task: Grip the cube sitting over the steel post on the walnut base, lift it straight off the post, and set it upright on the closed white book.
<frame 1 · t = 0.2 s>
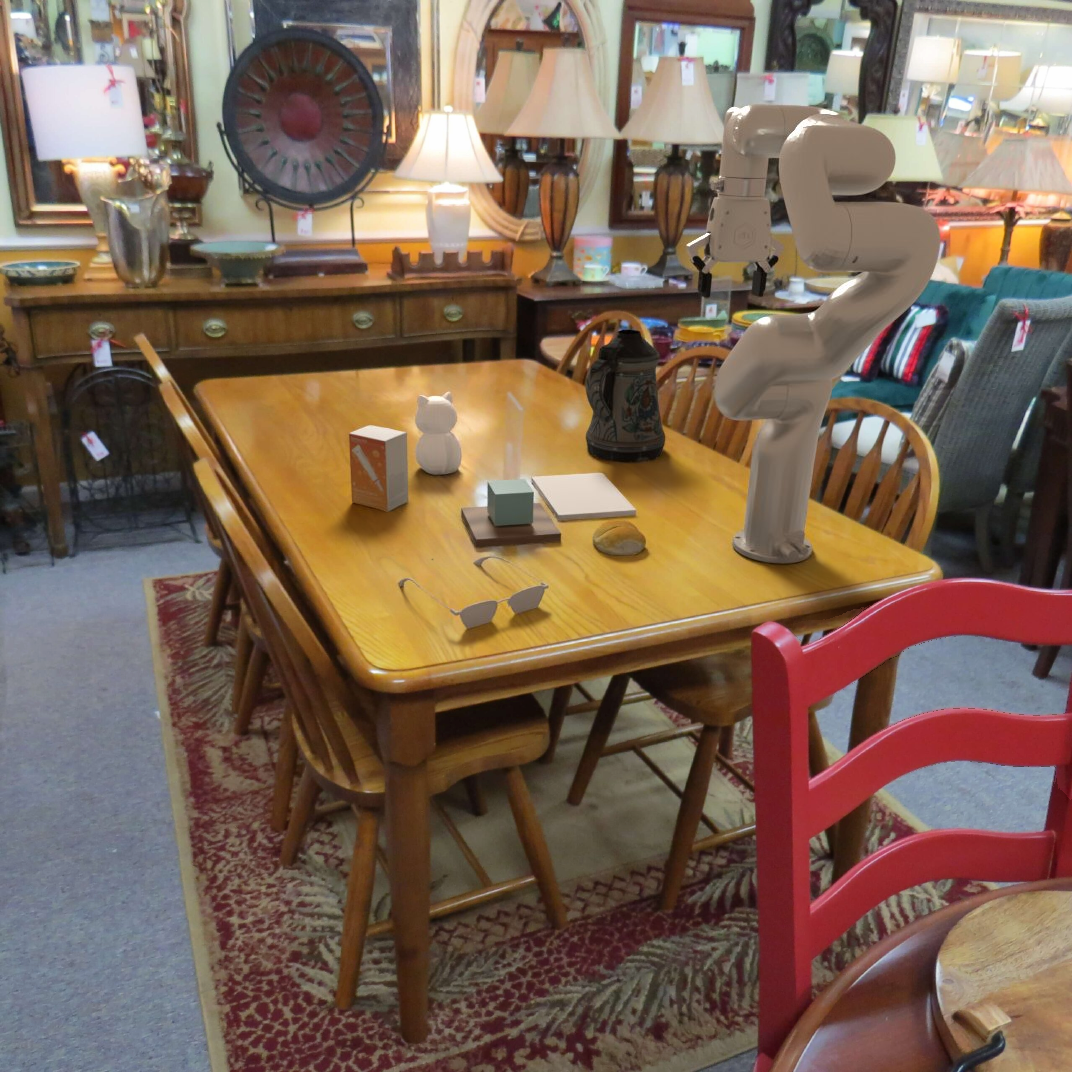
hand: (730, 296, 166), 37 cm above the table, tool pointing down, fingers open, 9 cm apart
small box: (380, 503, 174), on the table
cube: (509, 517, 164), point 2 cm above the table, touching post stand
beer stein: (623, 454, 204), on the table
post stand: (509, 528, 164), on the table
cat figurine: (440, 472, 191), on the table
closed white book: (581, 497, 179), on the table
eyeglasses: (469, 598, 142), on the table
bread roll: (619, 547, 159), on the table
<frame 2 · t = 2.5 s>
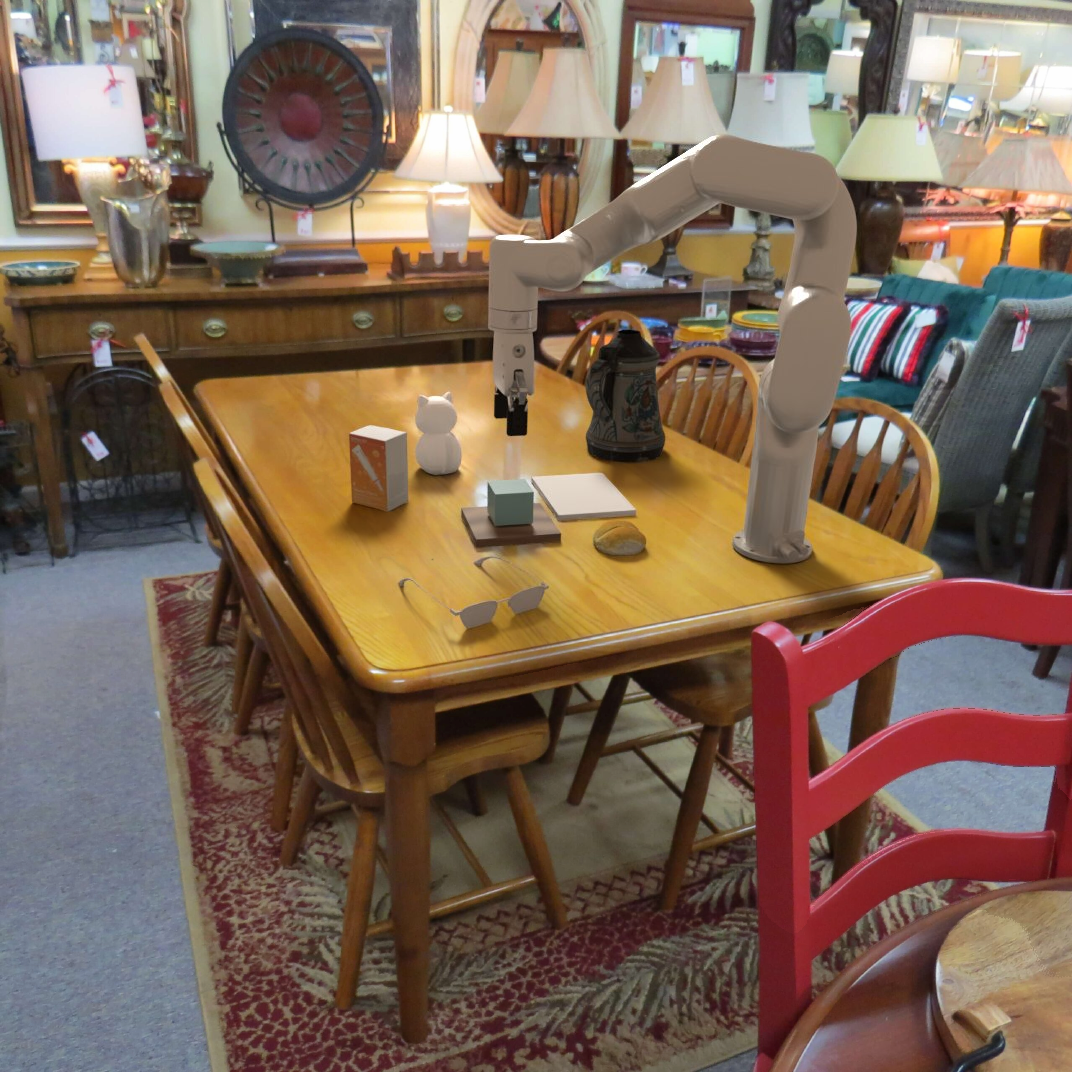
hand: (510, 426, 158), 18 cm above the table, tool pointing down, fingers open, 9 cm apart
nothing on the table moved.
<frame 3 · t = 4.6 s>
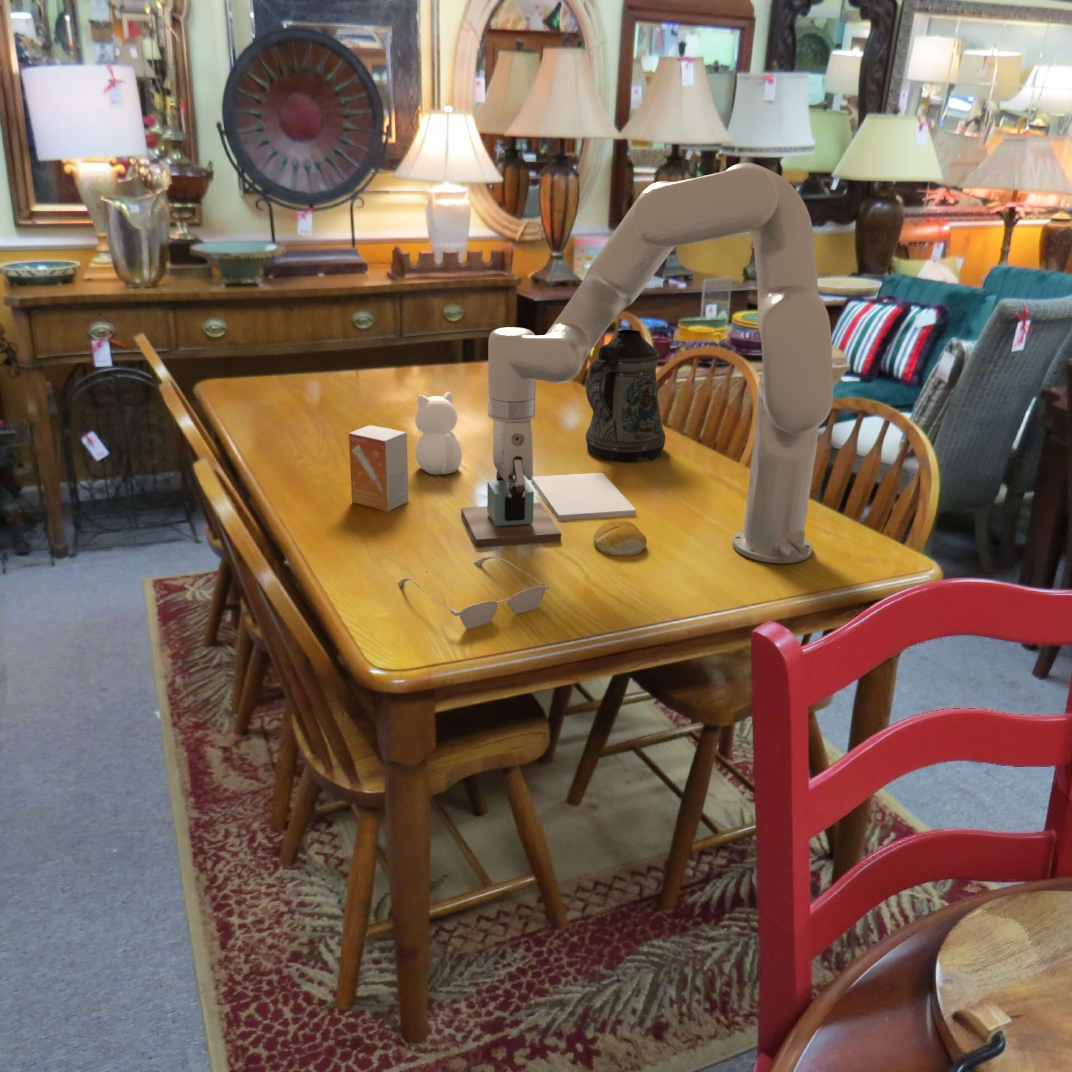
hand: (509, 511, 163), 3 cm above the table, tool pointing down, fingers closed on cube, 6 cm apart
cube: (509, 517, 164), point 2 cm above the table, touching gripper, post stand
everything else where it was.
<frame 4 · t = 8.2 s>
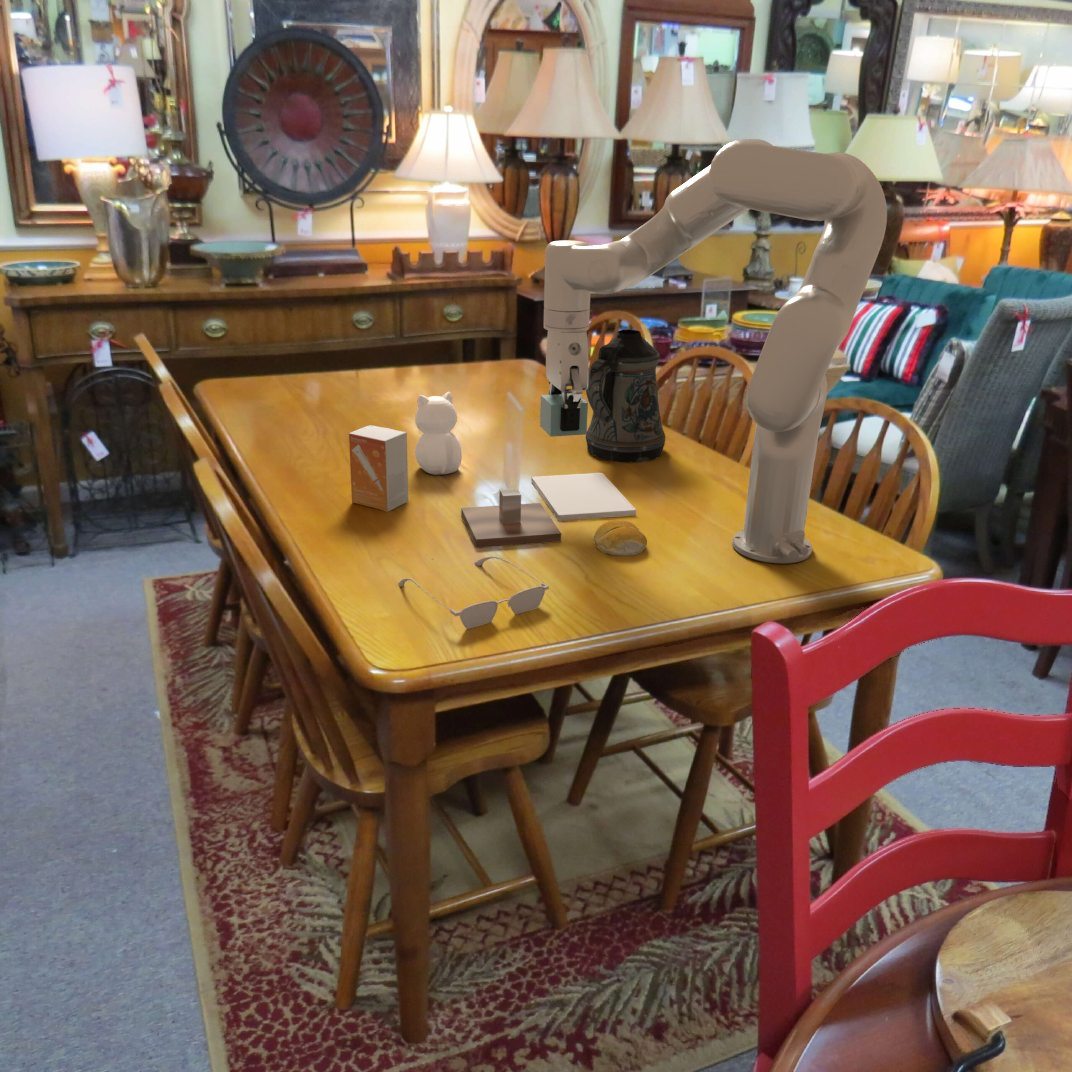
hand: (563, 423, 168), 15 cm above the table, tool pointing down, fingers closed on cube, 6 cm apart
cube: (563, 430, 169), point 14 cm above the table, touching gripper
everything else where it was.
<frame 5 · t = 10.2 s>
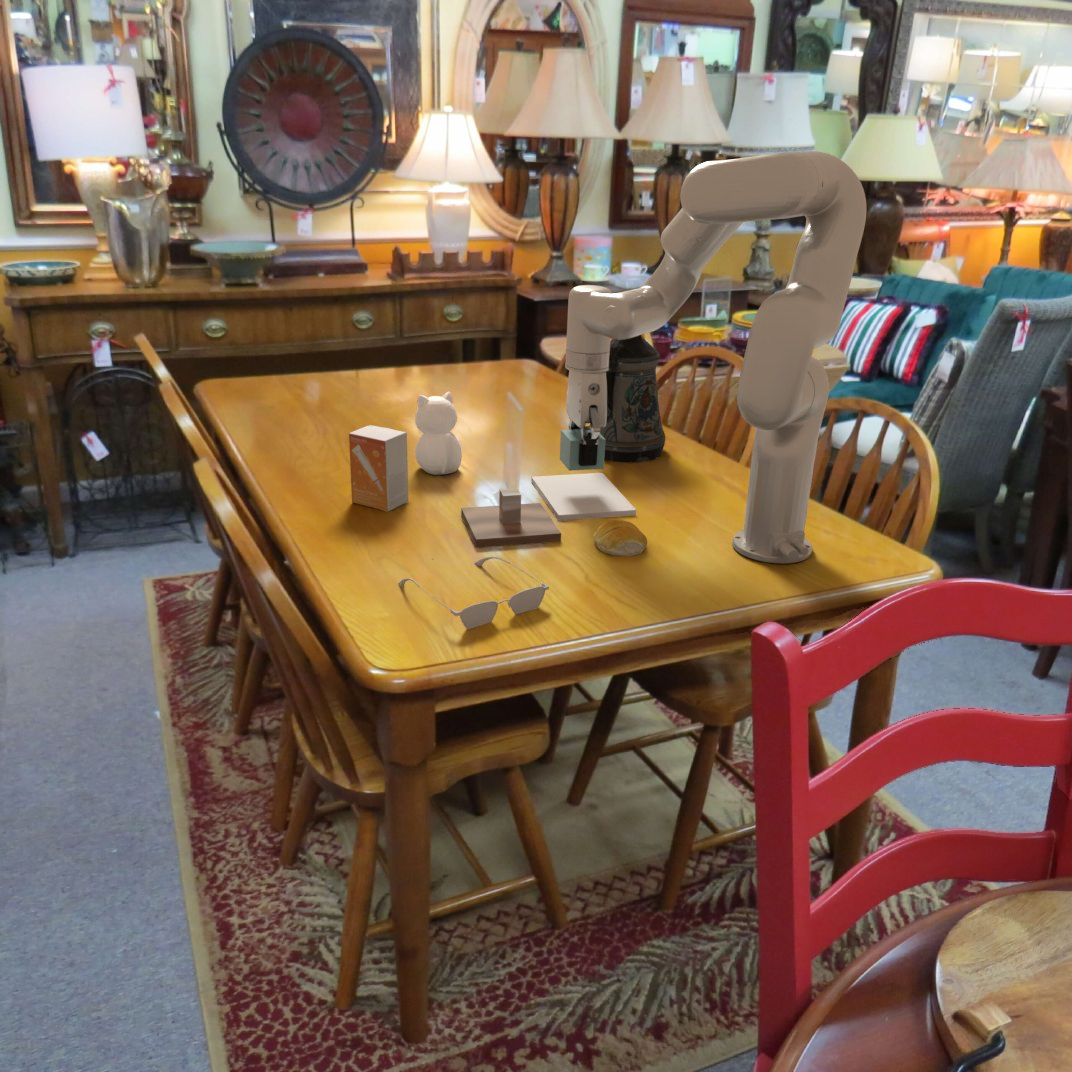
hand: (581, 457, 176), 8 cm above the table, tool pointing down, fingers closed on cube, 6 cm apart
cube: (581, 463, 176), point 6 cm above the table, touching gripper
everything else where it was.
when the fingers open (4 cm above the table, at t = 11.9 s): cube drops 1 cm, resting on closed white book.
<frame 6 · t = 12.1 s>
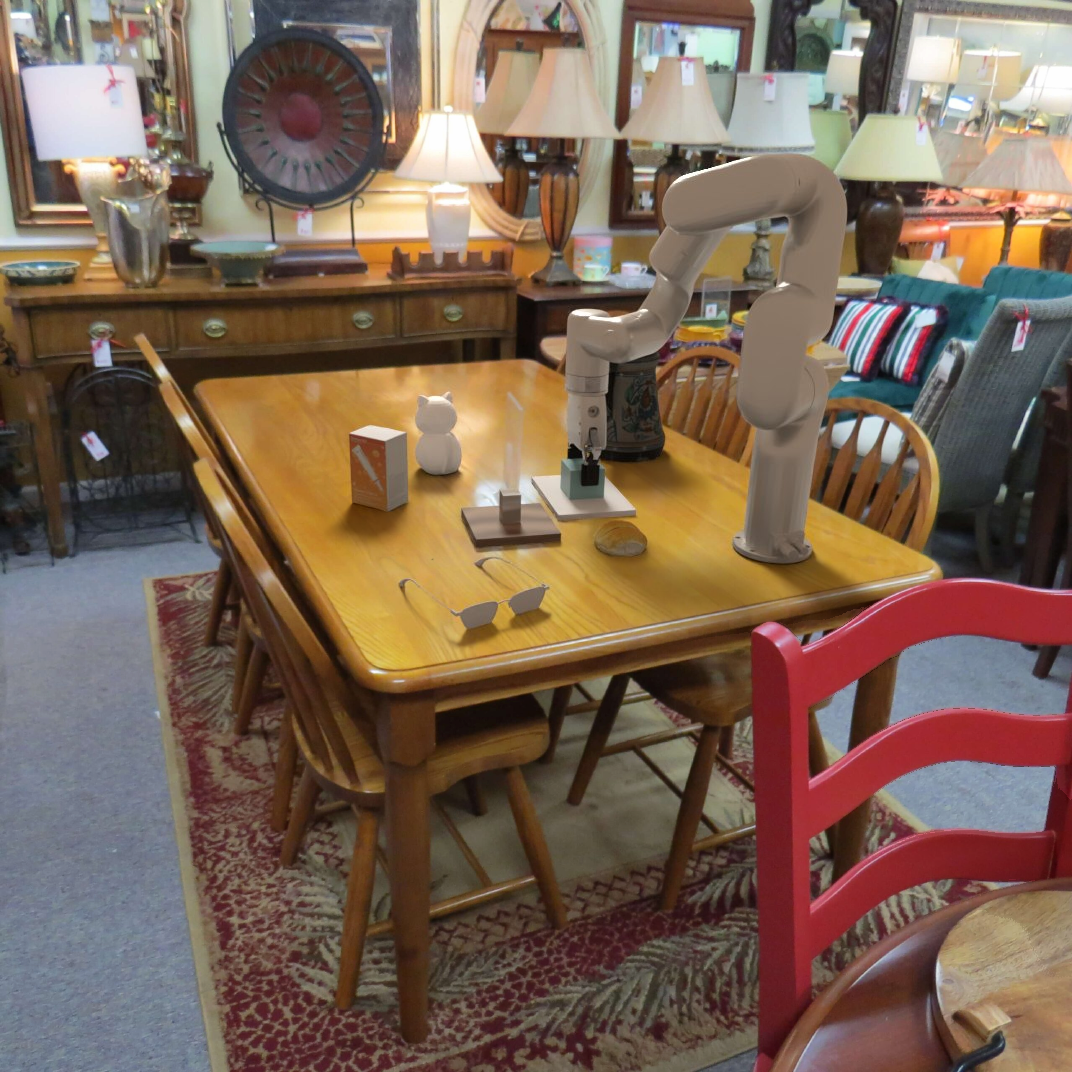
hand: (582, 476, 177), 4 cm above the table, tool pointing down, fingers open, 8 cm apart
cube: (581, 492, 178), point 1 cm above the table, touching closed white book
everything else where it was.
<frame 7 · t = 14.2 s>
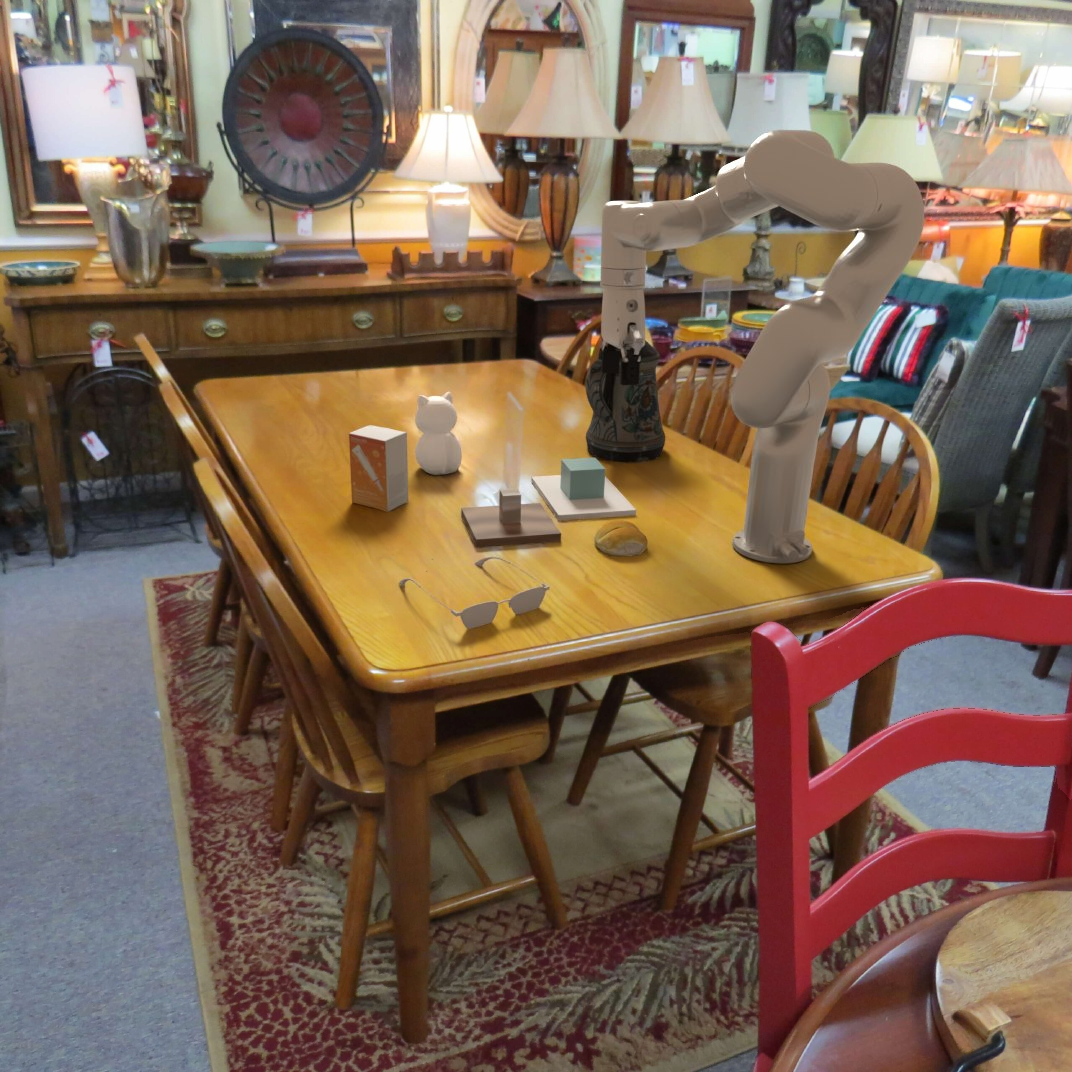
hand: (619, 378, 172), 22 cm above the table, tool pointing down, fingers open, 9 cm apart
nothing on the table moved.
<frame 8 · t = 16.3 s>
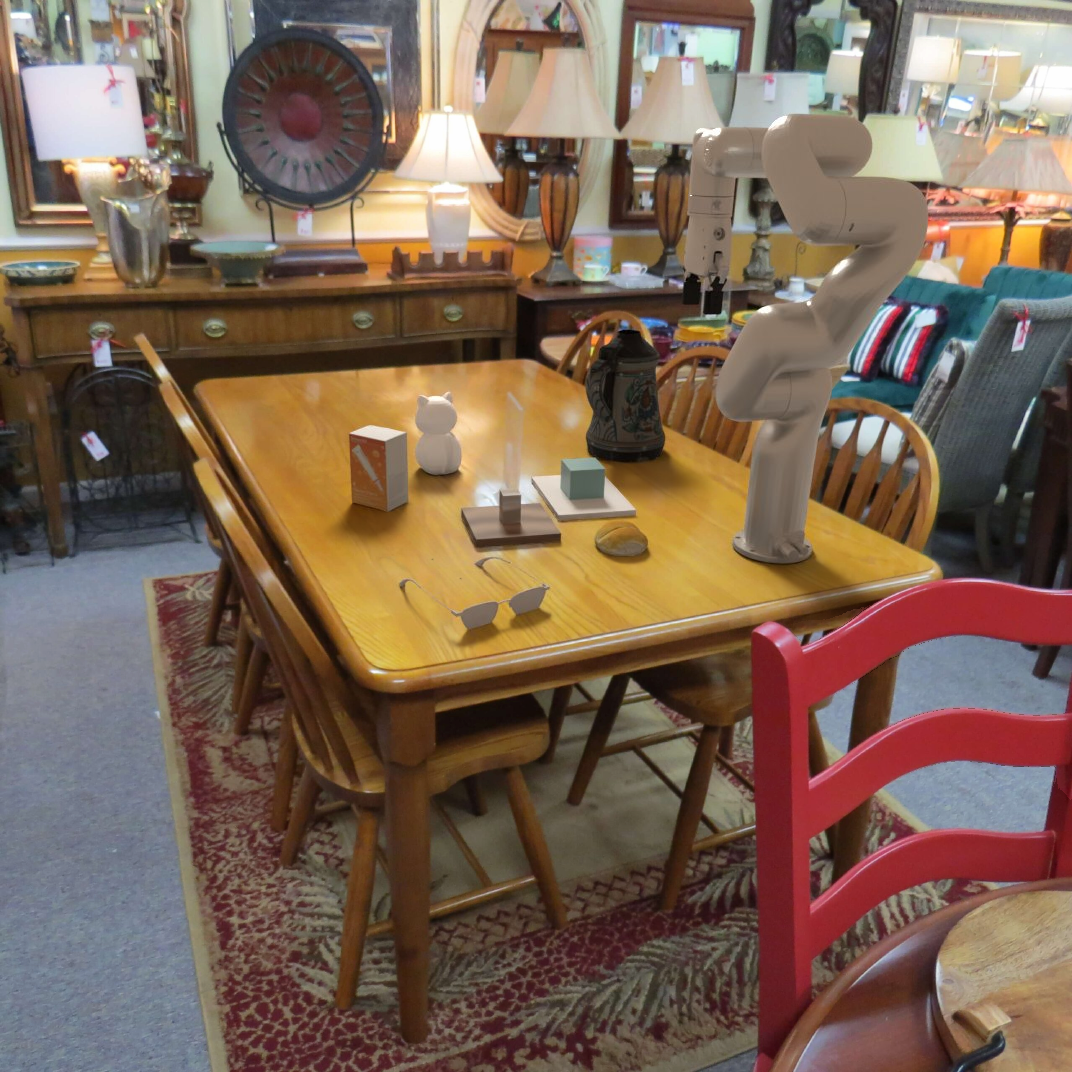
hand: (701, 309, 172), 33 cm above the table, tool pointing down, fingers open, 9 cm apart
nothing on the table moved.
at the end: cube inside the target area on the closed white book (0.0 cm from its centre), point 1.0 cm above the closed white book's base; cube tilted 0°; the gripper is holding nothing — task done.
